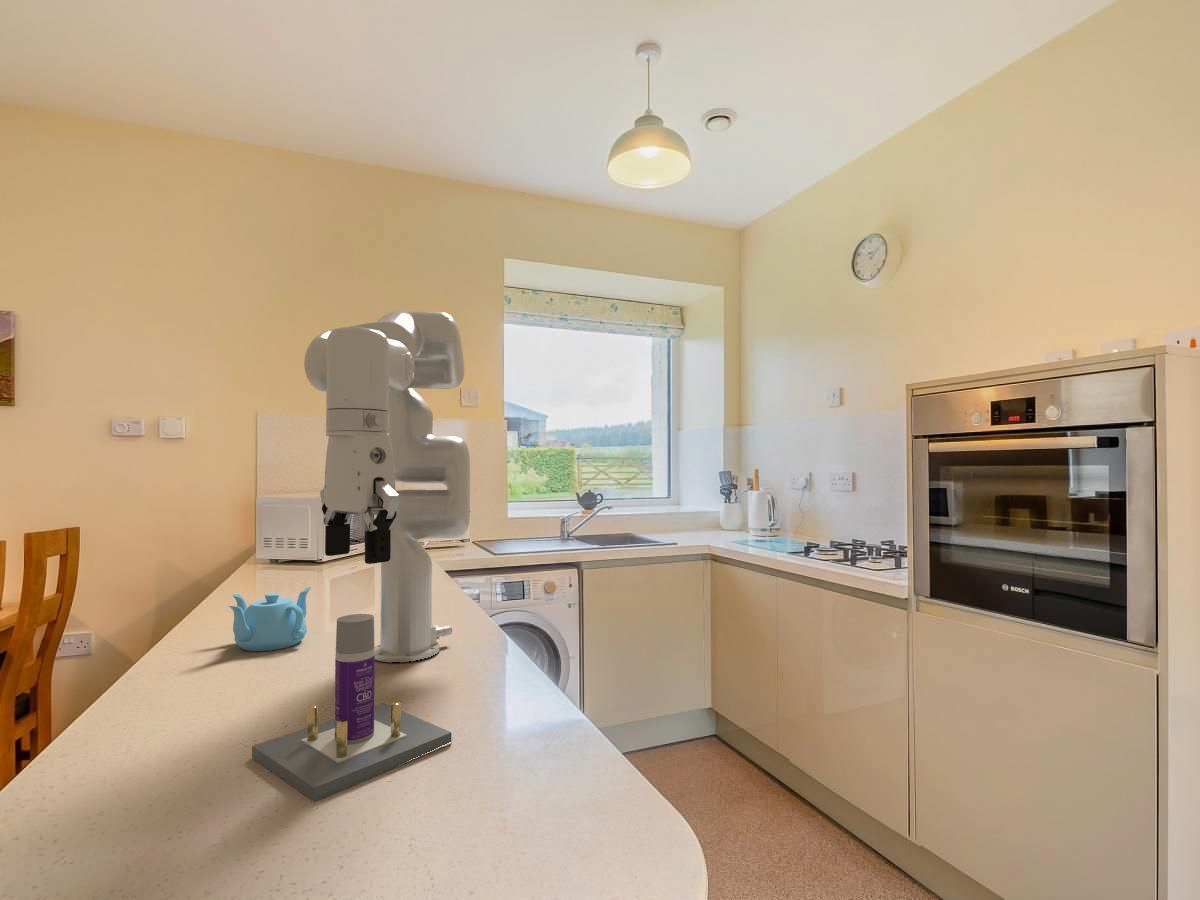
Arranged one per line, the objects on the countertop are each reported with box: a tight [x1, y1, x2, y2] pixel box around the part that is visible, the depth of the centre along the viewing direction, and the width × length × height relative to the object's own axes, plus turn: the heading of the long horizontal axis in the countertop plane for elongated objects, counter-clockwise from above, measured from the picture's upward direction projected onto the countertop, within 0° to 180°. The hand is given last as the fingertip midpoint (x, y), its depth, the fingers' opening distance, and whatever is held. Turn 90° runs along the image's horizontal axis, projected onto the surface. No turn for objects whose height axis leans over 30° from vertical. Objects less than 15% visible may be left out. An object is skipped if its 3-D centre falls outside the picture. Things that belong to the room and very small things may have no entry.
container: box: [334, 613, 376, 745], centre depth 79 cm, size 5×5×15 cm
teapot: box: [228, 586, 312, 652], centre depth 126 cm, size 15×15×10 cm
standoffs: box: [306, 701, 402, 758], centre depth 79 cm, size 8×8×4 cm
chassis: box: [251, 702, 452, 803], centre depth 79 cm, size 18×16×2 cm
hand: (356, 558), depth 80 cm, fingers open, 9 cm apart
